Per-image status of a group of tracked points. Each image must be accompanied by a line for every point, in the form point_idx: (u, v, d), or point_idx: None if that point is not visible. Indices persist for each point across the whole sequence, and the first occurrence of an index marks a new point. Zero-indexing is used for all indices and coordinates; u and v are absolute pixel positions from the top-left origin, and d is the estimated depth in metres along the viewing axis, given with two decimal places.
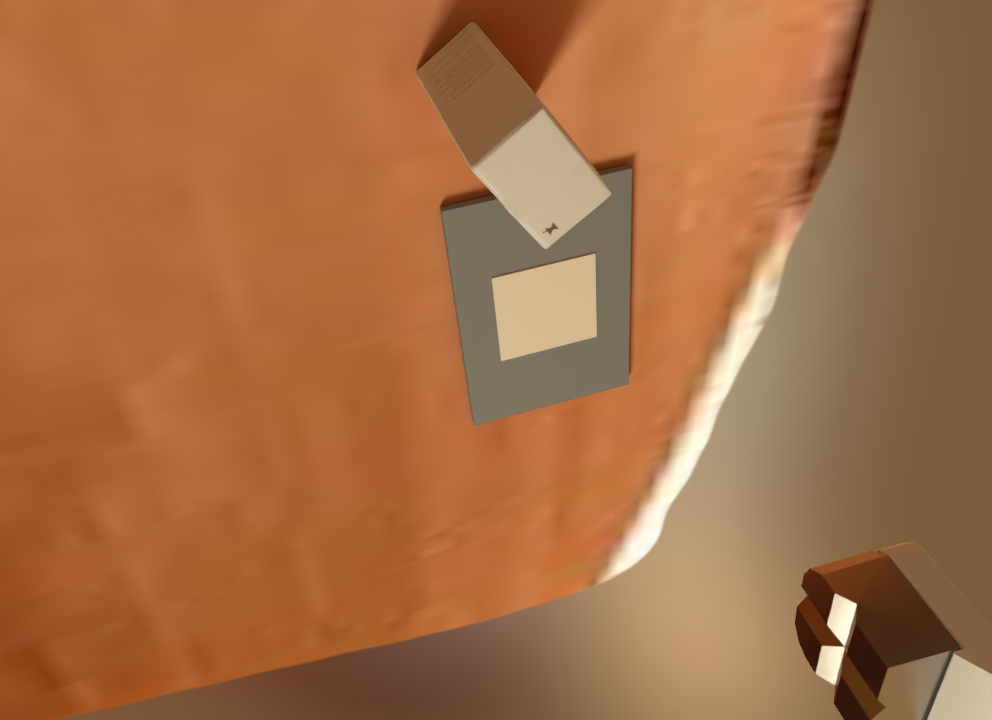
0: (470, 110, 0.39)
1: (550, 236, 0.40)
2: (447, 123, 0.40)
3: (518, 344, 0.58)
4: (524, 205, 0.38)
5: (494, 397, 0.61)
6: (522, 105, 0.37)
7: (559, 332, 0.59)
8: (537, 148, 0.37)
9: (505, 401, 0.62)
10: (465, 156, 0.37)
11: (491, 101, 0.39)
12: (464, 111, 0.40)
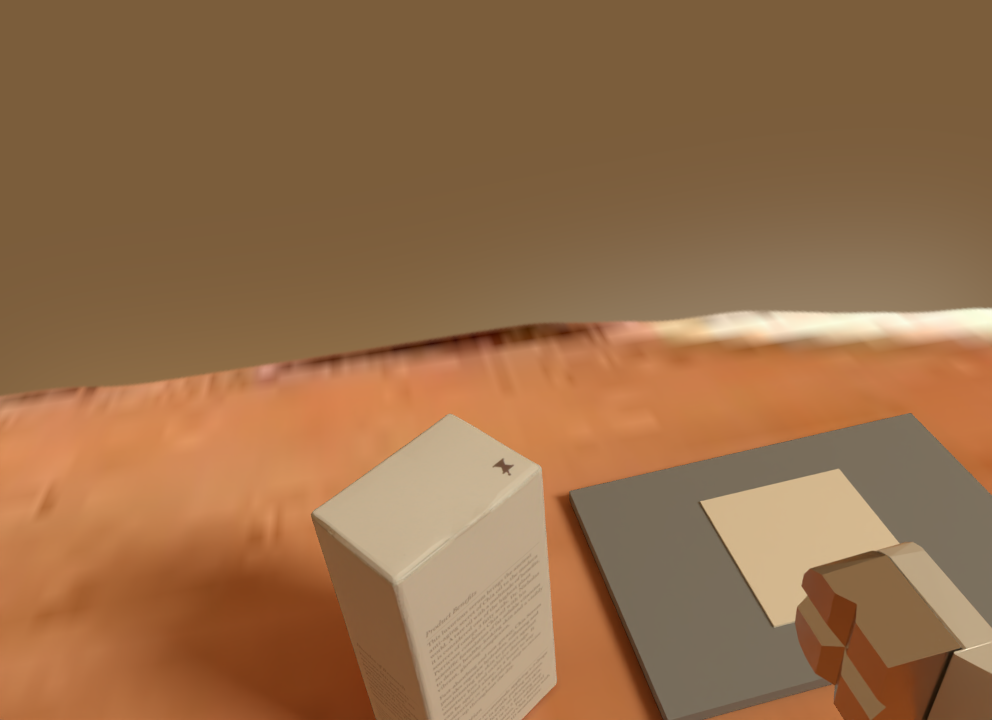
0: (386, 645, 0.26)
1: (517, 465, 0.26)
2: (416, 680, 0.26)
3: None
4: (462, 505, 0.25)
5: None
6: (329, 550, 0.26)
7: (847, 515, 0.38)
8: (370, 506, 0.25)
9: None
10: (399, 609, 0.24)
11: (362, 612, 0.26)
12: (394, 657, 0.26)
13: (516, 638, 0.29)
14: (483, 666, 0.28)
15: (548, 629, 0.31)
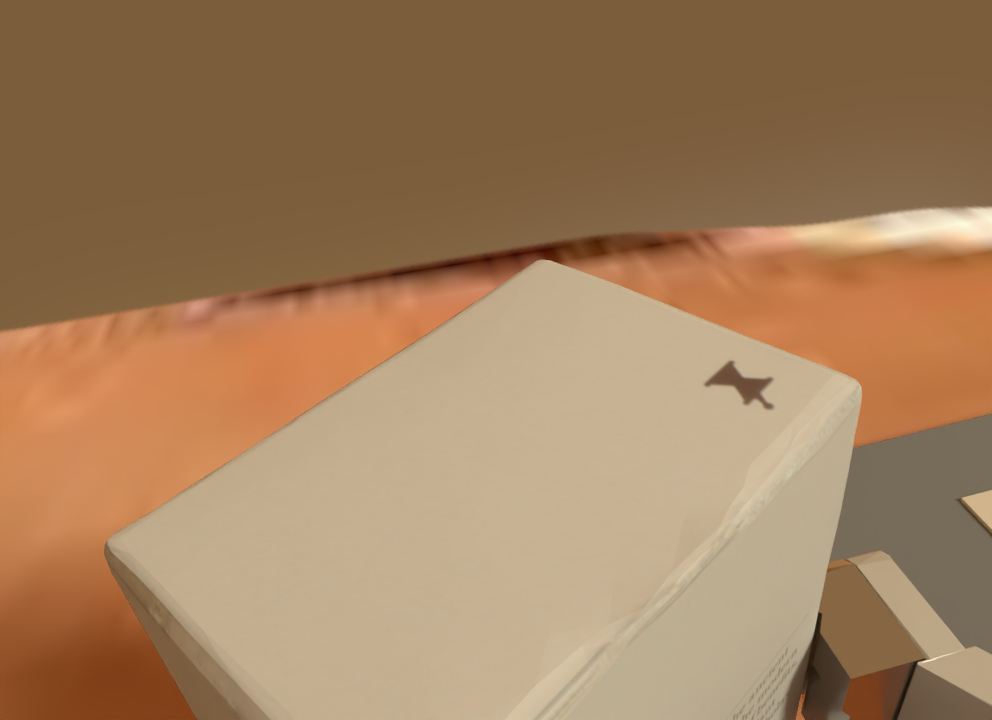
0: None
1: (784, 377, 0.08)
2: None
3: None
4: (634, 512, 0.07)
5: None
6: (172, 668, 0.08)
7: None
8: (306, 517, 0.07)
9: None
10: None
11: None
12: None
13: None
14: None
15: None
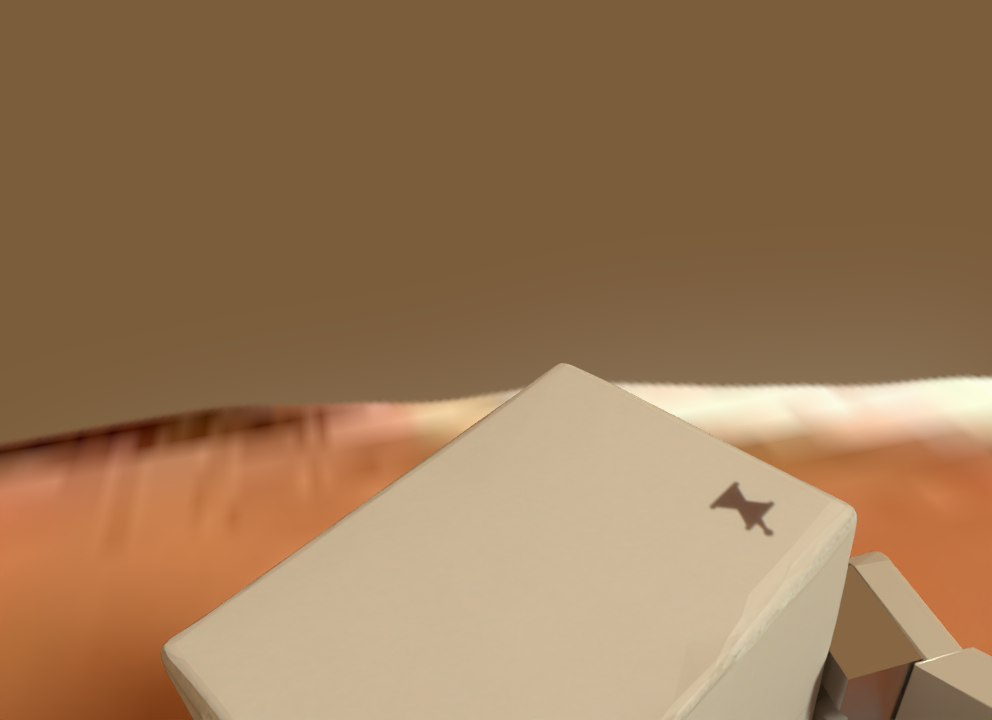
0: None
1: (784, 503, 0.09)
2: None
3: None
4: (641, 638, 0.08)
5: None
6: None
7: None
8: (344, 629, 0.08)
9: None
10: None
11: None
12: None
13: None
14: None
15: None
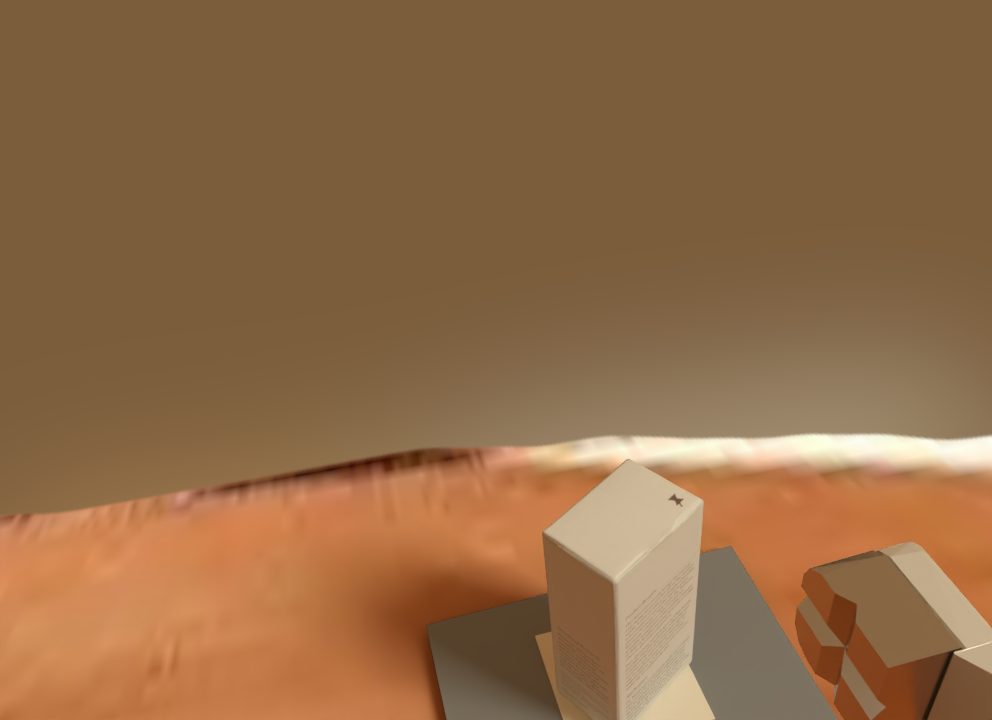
0: (591, 627, 0.37)
1: (685, 499, 0.37)
2: (614, 652, 0.36)
3: (681, 699, 0.42)
4: (651, 528, 0.35)
5: (786, 715, 0.41)
6: (553, 558, 0.36)
7: None
8: (585, 527, 0.36)
9: (790, 697, 0.42)
10: (614, 600, 0.34)
11: (572, 603, 0.37)
12: (596, 635, 0.37)
13: (673, 625, 0.40)
14: (652, 644, 0.39)
15: (692, 619, 0.41)
